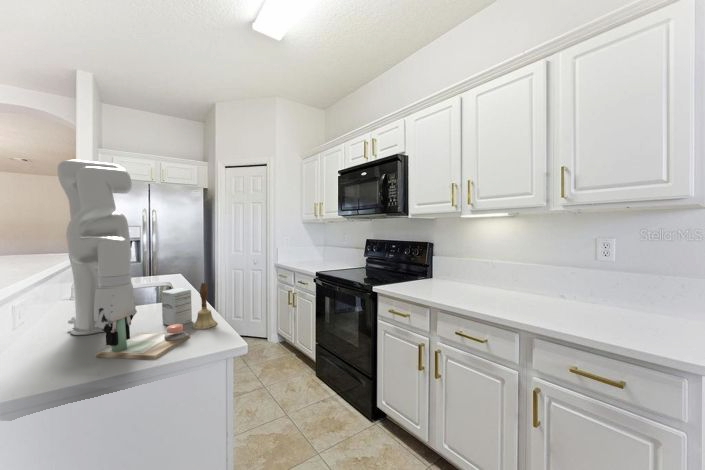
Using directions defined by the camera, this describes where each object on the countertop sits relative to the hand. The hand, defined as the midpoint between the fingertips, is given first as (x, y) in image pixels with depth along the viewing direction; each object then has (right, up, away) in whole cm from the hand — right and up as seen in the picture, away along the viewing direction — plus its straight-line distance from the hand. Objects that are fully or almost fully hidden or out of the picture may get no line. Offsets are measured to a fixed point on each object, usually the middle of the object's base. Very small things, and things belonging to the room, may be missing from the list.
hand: (118, 341), depth 90 cm
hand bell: (+14, -2, +23) cm, 27 cm away
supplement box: (+3, -2, +26) cm, 26 cm away
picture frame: (+5, -3, +5) cm, 8 cm away
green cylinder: (0, -2, 0) cm, 2 cm away
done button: (+11, 0, +9) cm, 15 cm away
